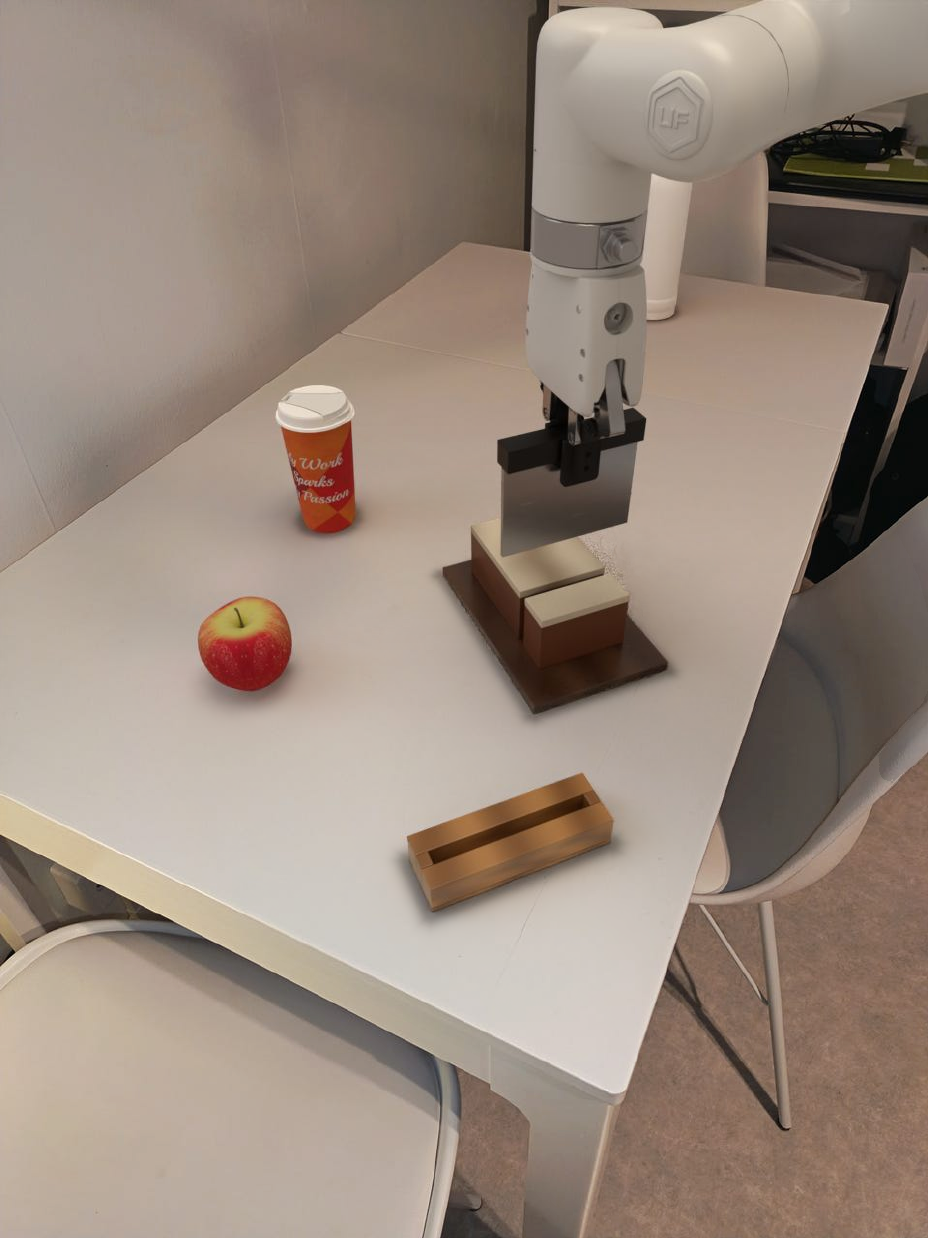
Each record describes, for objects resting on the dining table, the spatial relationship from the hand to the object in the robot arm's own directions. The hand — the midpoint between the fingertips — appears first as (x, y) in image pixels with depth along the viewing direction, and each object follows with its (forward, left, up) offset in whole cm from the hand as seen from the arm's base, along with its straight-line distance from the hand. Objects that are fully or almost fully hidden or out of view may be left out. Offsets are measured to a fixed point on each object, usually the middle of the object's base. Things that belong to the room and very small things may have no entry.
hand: (570, 471), depth 71 cm
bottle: (-52, -67, -21) cm, 87 cm away
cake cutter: (0, 0, -7) cm, 7 cm away
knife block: (+13, +17, -21) cm, 30 cm away
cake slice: (-2, 0, -20) cm, 20 cm away
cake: (-2, -7, -21) cm, 22 cm away
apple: (+27, -10, -21) cm, 36 cm away
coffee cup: (+13, -32, -21) cm, 40 cm away
